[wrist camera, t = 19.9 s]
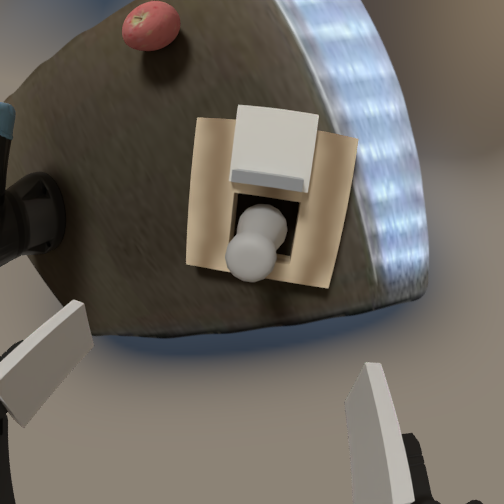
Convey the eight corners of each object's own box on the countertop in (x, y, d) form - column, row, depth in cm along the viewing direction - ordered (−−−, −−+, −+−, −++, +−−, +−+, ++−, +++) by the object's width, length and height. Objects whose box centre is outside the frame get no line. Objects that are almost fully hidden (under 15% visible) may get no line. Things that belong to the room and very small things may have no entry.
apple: (175, 61, 28) (146, 42, 21) (133, 55, 28) (101, 40, 21) (197, 18, 25) (175, -8, 18) (154, 14, 25) (127, -8, 18)
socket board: (193, 255, 37) (185, 264, 34) (205, 120, 31) (197, 117, 28) (325, 278, 35) (328, 288, 32) (352, 140, 29) (358, 139, 26)
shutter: (230, 180, 30) (223, 183, 26) (239, 106, 27) (233, 100, 23) (307, 191, 29) (309, 195, 26) (317, 116, 26) (321, 111, 23)
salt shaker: (279, 251, 35) (272, 302, 23) (236, 238, 35) (207, 282, 23) (293, 208, 33) (294, 239, 21) (248, 194, 33) (222, 217, 21)
